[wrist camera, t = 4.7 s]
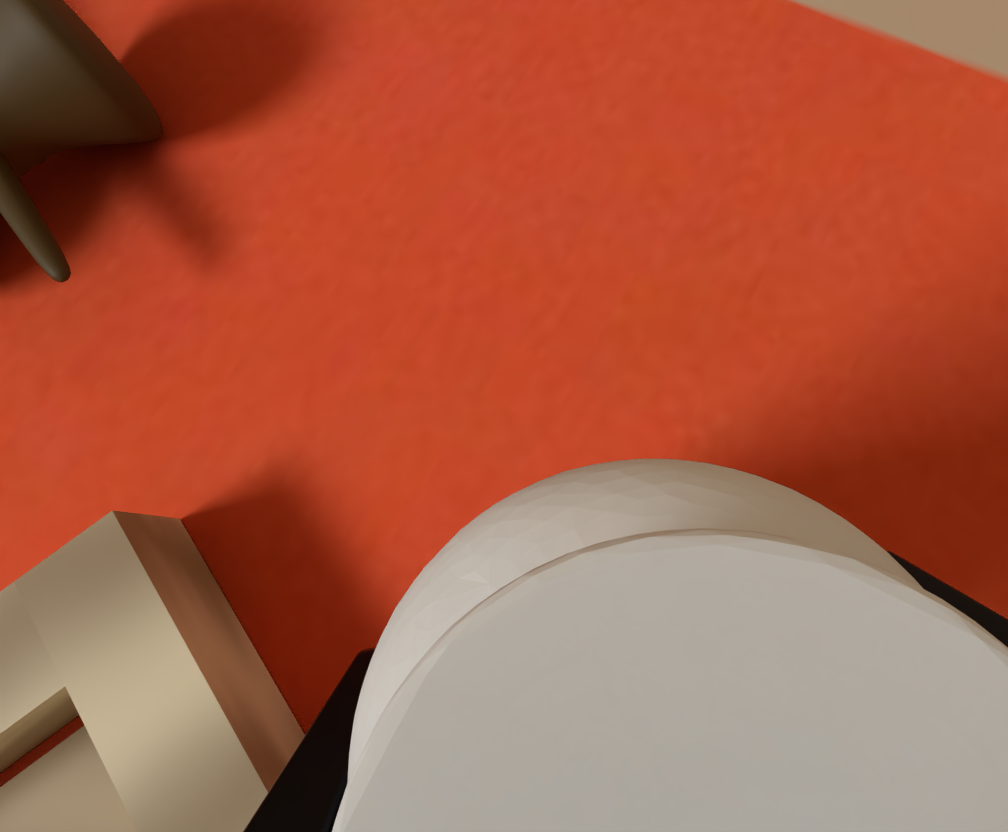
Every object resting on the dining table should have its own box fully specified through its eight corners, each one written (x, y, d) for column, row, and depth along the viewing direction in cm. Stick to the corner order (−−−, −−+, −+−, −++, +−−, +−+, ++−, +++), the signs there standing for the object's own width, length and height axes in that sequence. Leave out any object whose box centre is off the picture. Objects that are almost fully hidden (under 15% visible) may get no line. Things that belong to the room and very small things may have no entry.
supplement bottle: (421, 641, 17) (-65, 829, 4) (629, 463, 17) (741, 157, 5) (608, 893, 15) (704, 2404, 3) (834, 689, 15) (1868, 1164, 3)
